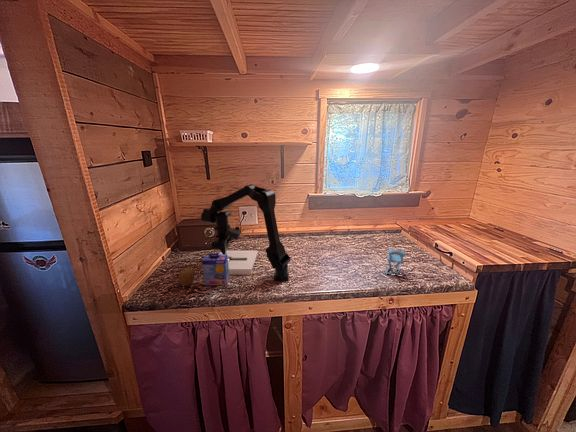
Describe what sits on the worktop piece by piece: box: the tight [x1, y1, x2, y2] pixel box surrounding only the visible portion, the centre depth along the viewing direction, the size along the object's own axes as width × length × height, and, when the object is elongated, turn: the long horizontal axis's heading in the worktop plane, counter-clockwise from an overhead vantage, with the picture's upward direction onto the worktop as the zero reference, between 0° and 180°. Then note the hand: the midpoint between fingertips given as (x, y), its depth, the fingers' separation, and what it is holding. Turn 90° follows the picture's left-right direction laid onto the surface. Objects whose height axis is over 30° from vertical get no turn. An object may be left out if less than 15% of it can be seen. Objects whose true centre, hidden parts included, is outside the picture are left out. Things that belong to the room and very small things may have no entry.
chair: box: [384, 247, 406, 277], centre depth 107 cm, size 8×8×12 cm
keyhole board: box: [218, 249, 259, 276], centre depth 115 cm, size 20×20×3 cm
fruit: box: [178, 267, 195, 287], centre depth 97 cm, size 6×6×8 cm
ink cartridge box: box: [201, 253, 230, 286], centre depth 98 cm, size 10×6×14 cm, turn 94°
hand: (224, 253), depth 114 cm, fingers closed
